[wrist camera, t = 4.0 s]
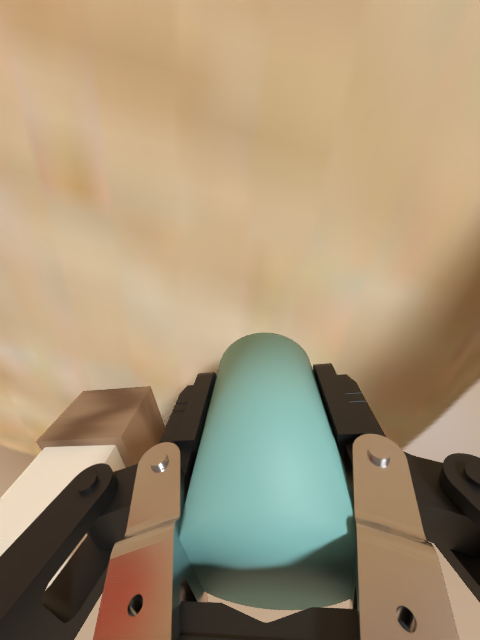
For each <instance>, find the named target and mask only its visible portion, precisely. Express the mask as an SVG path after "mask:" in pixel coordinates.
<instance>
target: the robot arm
mask: <svg viewBox="0 0 480 640" xmlns="http://www.w3.org/2000/svg"><path fill="white" fill-rule="evenodd" d="M313 372H314V375H315V379H316V382H317V385H318V388H319V391H320V394H321V397H322V400H323V403H324V406H325V409H326V412H327V415H328V419H329V422H330V425H331V428H332V431H333V434H334V437H335V440H336V443H337V446H338V449H339V452H340V455H341V458H342V462H343V465H344V468H345V471H346V474H347V477H348V480H349V483H350V486H351V489H352V492H353V503H354V516H355V533H356V542H355V553H354V564H353V575H352V586H351V597H350V609H340V608H319V607H311V608H308V609H305V610H303V611H300V612H298V613H294V614H292V615H289V616H286V617H283V618H281V619H278V620H276V621H272V622H269V623H264V622H261V621H259V620H257V619H255V618H252V617H250V616H248V615H246V614H244V613H242V612H240V611H238V610H235V609H233V608H231V607H229V606H227V605H225V604H223V603H212V602H208V597H207V593H206V592H205V591H204V590H203V587H202V585H201V583H200V581H199V579H198V577H197V575H196V573H195V571H194V569H193V566H192V564H191V562H190V560H189V558H188V556H187V554H186V552H185V550H184V548H183V545H182V543H181V541H180V539H179V535H180V527H181V520H182V515H183V509H184V505H185V501H186V497H187V493H188V489H189V485H190V481H191V477H192V473H193V469H194V465H195V461H196V457H197V453H198V449H199V445H200V441H201V437H202V433H203V429H204V425H205V421H206V417H207V413H208V409H209V405H210V401H211V397H212V393H213V389H214V385H215V381H216V377H217V376H216V374H215V372H212V373H199V374H198V375H197V378H196V380H195V383H194V385H189V386H187V387H186V388H185V389H184V390H183V391H182V392H181V393H180V395H179V397H178V399H177V402H176V405H175V407H174V409H173V413H172V414H171V416H170V418H169V421H168V423H167V425H166V428H165V430H164V433H163V435H162V437H161V440H160V442H159V444H157V445H155V446H153V447H152V448H150V449H149V450H148V451H147V452H146V453H145V454H144V455H143V456H142V458H141V459H140V461H139V463H138V464H135V465H132V466H130V467H127V468H124V469H121V470H118V471H115V472H113V470H112V469H111V467H110V466H109V465H108V464H105V463H99V464H95V465H92V466H90V467H88V468H86V469H84V470H83V471H82V472H80V473H79V474H78V475H77V476H76V477H75V478H74V479H73V480H72V481H71V482H70V483H69V484H68V485H67V486H66V487H65V488H64V489H63V490H62V491H61V492H60V494H59V495H58V496H57V497H56V498H55V499H54V500H53V501H52V502H51V503H50V504H49V505H48V506H47V507H46V508H45V509H44V511H43V512H42V513H41V514H40V515H39V516H38V517H37V518H36V519H35V520H34V521H33V522H32V523H31V524H30V525H29V526H28V527H27V529H26V530H25V531H24V532H23V533H22V534H21V535H20V536H19V537H18V538H17V539H16V540H15V541H14V542H13V543H12V544H11V546H10V547H9V548H8V549H7V550H6V551H5V552H4V553H3V554H2V555H1V556H0V640H74V639H75V637H76V636H77V634H78V632H79V631H80V629H81V627H82V626H83V624H84V622H85V621H86V619H87V617H88V616H89V614H90V612H91V611H92V609H93V607H94V606H95V604H96V602H97V601H98V599H99V597H100V596H101V594H102V592H103V594H102V599H101V604H100V608H99V614H98V618H97V623H96V627H95V632H94V637H93V640H459V636H458V632H457V628H456V624H455V620H454V616H453V613H452V609H451V605H450V600H449V597H448V593H447V589H446V585H445V581H444V577H443V573H442V569H441V566H440V562H439V559H438V556H437V553H436V551H435V549H434V547H433V545H432V544H431V543H429V542H432V543H434V544H435V545H436V547H437V548H438V549H439V550H440V552H441V553H442V554H443V556H444V557H445V558H446V559H447V561H448V562H449V563H450V565H451V566H452V567H453V568H454V570H455V571H456V572H457V574H458V575H459V576H460V578H461V579H462V580H463V581H464V583H465V584H466V585H467V587H468V588H469V589H470V591H471V592H472V593H473V594H474V596H475V597H476V598H477V600H478V601H479V602H480V458H478V457H476V456H473V455H469V454H461V453H457V454H451V455H449V456H447V458H445V460H444V463H440V462H436V461H432V460H428V459H424V458H420V457H416V456H413V455H410V454H408V453H406V452H404V451H403V450H402V449H401V448H400V447H399V446H398V445H397V444H396V443H395V442H393V441H392V440H390V439H388V438H386V436H385V434H384V433H383V431H382V429H381V427H380V425H379V424H378V422H377V420H376V418H375V416H374V414H373V413H372V411H371V409H370V407H369V405H368V403H367V402H366V400H365V398H364V396H363V394H361V391H360V389H359V387H358V385H357V383H356V382H355V381H354V380H353V379H351V378H350V377H349V376H348V375H346V374H344V375H337V374H336V372H335V370H334V368H333V365H332V364H331V363H329V364H316V365H313ZM85 534H87V537H86V538H85V539H84V541H83V542H82V543H81V545H80V546H79V547H78V549H77V550H76V551H75V553H74V554H73V555H72V557H71V558H70V559H69V561H68V562H67V563H66V565H65V566H64V567H63V569H62V570H61V571H60V573H59V574H58V575H57V577H56V578H55V580H54V581H53V582H52V584H51V585H50V586H49V587H48V589H47V590H46V591H45V589H46V587H47V586H48V584H49V582H50V581H51V579H52V578H53V577H54V575H55V574H56V573H57V572H58V570H59V569H60V568H61V566H62V565H63V564H64V562H65V561H66V560H67V558H68V557H69V556H70V554H71V553H72V552H73V550H74V549H75V548H76V546H77V545H78V544H79V542H80V541H81V540H82V538H83V537H84V536H85ZM428 541H429V542H428Z"/></svg>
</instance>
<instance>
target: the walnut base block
mask: <svg viewBox="0 0 480 640" xmlns="http://www.w3.org/2000/svg"><path fill="white" fill-rule="evenodd" d="M164 430H165V426H164V423H163V421H162V418H161V415H160V412H159V409H158V406H157V403H156V401H155V398H154V395H153V392H152V389H151V386H148V387H135V388H121V389H108V390H94V391H83V392H82V393H81V394H80V395H79V396H78V397H77V398H76V399H75V401H74V402H73V403H72V404H71V405H70V406H69V407H68V408H67V409H66V410H65V411H64V412H63V413H62V414H61V415H60V417H59V418H58V419H57V420H56V421H55V422H54V423H53V424H52V425H51V426H50V427H49V428H48V429H47V430H46V432H45V433H44V434H43V435H42V436H41V437H40V438H39V439H38V440H37V441H36V442H37V444H38V445H39V447H40V448H41V450H43V449H44V448H45V447H65V446H95V445H116V447H117V449H118V451H119V454H120V456H121V458H122V460H123V462H124V465H125V467H126V468H127V467H130V466H132V465H135V464H138V463H139V461H140V459H141V458H142V456H143V455H144V454H145V453H146V452H147V451H148V450H149V449H150V448H152V447H153V446H155V445H157V444H159V442H160V440H161V437H162V435H163V433H164Z"/></svg>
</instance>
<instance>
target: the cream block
mask: <svg viewBox="0 0 480 640" xmlns="http://www.w3.org/2000/svg"><path fill="white" fill-rule="evenodd" d="M99 463H105V464H108V465H109V466H110V467H111V469H112V470H113V472H115V471H118V470H121V469H124V468H126V467H125V465H124V462H123V460H122V458H121V456H120V454H119V451H118V449H117V447H116V445H95V446H65V447H45V448H44V449H43V450H42V451H41V452H40V454H39V455H38V456H37V457H36V458H35V459H34V461H33V462H32V463H31V464H30V465H29V466H28V467H27V468H26V470H25V471H24V472H23V473H22V474H21V475H20V477H19V478H18V479H17V480H16V481H15V482H14V483H13V485H12V486H11V487H10V488H9V489H8V490H7V491H6V492H5V494H4V495H3V496H2V497H1V498H0V556H1V555H2V554H3V553H4V552H5V551H6V550H7V549H8V548H9V547H10V546H11V544H12V543H13V542H14V541H15V540H16V539H17V538H18V537H19V536H20V535H21V534H22V533H23V532H24V531H25V530H26V529H27V527H28V526H29V525H30V524H31V523H32V522H33V521H34V520H35V519H36V518H37V517H38V516H39V515H40V514H41V513H42V512H43V511H44V509H45V508H46V507H47V506H48V505H49V504H50V503H51V502H52V501H53V500H54V499H55V498H56V497H57V496H58V495H59V494H60V492H61V491H62V490H63V489H64V488H65V487H66V486H67V485H68V484H69V483H70V482H71V481H72V480H73V479H74V478H75V477H76V476H77V475H78V474H79V473H80V472H82V471H83V470H84V469H86V468H88V467H90V466H92V465H95V464H99ZM86 537H87V534H85V536H84V537H83V538H82V540H81V541H80V542H79V544H78V545H77V546H76V548H75V549H74V550H73V552H72V553H71V554H70V556H69V557H68V558H67V560H66V561H65V562H64V564H63V565H62V566H61V568H60V569H59V570H58V572H57V573H56V574H55V575H54V577H53V578H52V579H51V581H50V582H49V584H48V586H47V587H49V586H50V585H51V584H52V582H53V581H54V580H55V578H56V577H57V575H58V574H59V573H60V571H61V570H62V569H63V567H64V566H65V565H66V563H67V562H68V561H69V559H70V558H71V557H72V555H73V554H74V553H75V551H76V550H77V549H78V547H79V546H80V545H81V543H82V542H83V541H84V539H85V538H86Z"/></svg>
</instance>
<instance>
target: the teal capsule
mask: <svg viewBox="0 0 480 640" xmlns="http://www.w3.org/2000/svg"><path fill="white" fill-rule="evenodd" d="M179 539H180V541H181V543H182V545H183V548H184V550H185V552H186V554H187V556H188V558H189V560H190V562H191V564H192V566H193V569H194V571H195V573H196V575H197V577H198V579H199V581H200V583H201V585H202V587H203V590H204V591H205V592H206V593H209V594H211V595H213V596H215V597H218V598H221V599H224V600H226V601H230V602H233V603H237V604H241V605H245V606H250V607H256V608H263V609H274V610H304V609H308V608H311V607H319V608H321V607H325V606H330V605H334V604H337V603H340V602H343V601H346V600H348V599H350V597H351V586H352V575H353V564H354V553H355V542H356V533H355V516H354V503H353V492H352V489H351V486H350V483H349V480H348V477H347V474H346V471H345V468H344V465H343V462H342V458H341V455H340V452H339V449H338V446H337V443H336V440H335V437H334V434H333V431H332V428H331V425H330V422H329V419H328V415H327V412H326V409H325V406H324V403H323V400H322V397H321V394H320V391H319V388H318V385H317V382H316V379H315V375H314V372H313V369H312V366H311V363H310V360H309V358H308V356H307V354H306V352H305V351H304V350H303V349H302V347H301V346H300V345H298V344H297V343H296V342H294V341H293V340H291V339H289V338H287V337H285V336H282V335H279V334H274V333H256V334H251V335H248V336H245V337H242V338H240V339H239V340H237V341H235V342H234V343H233V344H231V345H230V346H229V347H228V348H227V350H226V351H225V353H224V354H223V356H222V359H221V361H220V365H219V369H218V373H217V377H216V381H215V385H214V389H213V393H212V397H211V401H210V405H209V409H208V413H207V417H206V421H205V425H204V429H203V433H202V437H201V441H200V445H199V449H198V453H197V457H196V461H195V465H194V469H193V473H192V477H191V481H190V485H189V489H188V493H187V497H186V501H185V505H184V509H183V515H182V520H181V527H180V535H179Z"/></svg>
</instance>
